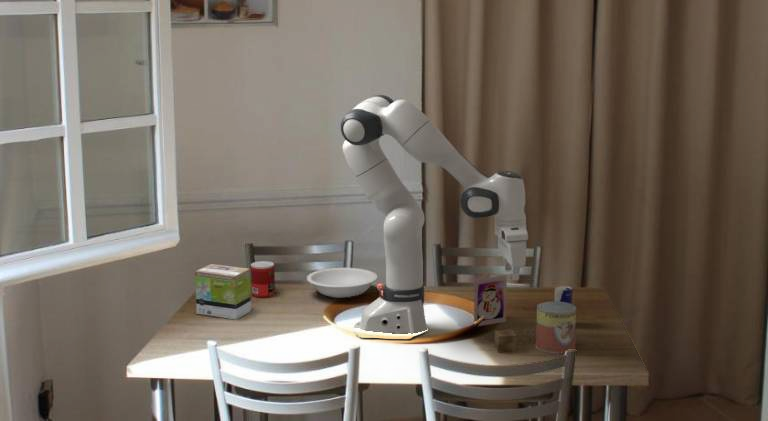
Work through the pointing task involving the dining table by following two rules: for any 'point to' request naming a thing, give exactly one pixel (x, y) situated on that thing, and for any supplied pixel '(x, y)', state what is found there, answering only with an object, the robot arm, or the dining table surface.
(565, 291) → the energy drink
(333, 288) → the soup bowl
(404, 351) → the dining table surface
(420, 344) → the dining table surface
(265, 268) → the canned food
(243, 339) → the dining table surface
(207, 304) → the tea box
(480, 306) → the greeting card
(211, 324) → the dining table surface
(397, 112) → the robot arm
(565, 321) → the canned food
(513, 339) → the walnut block
